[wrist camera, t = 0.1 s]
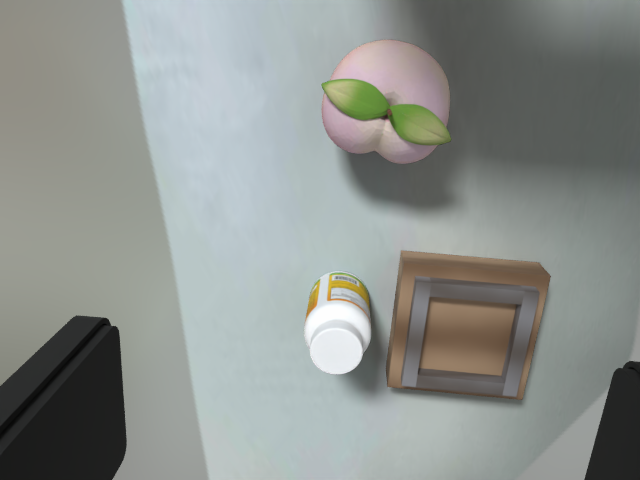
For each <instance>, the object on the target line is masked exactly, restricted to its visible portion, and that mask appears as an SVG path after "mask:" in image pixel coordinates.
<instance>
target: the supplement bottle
mask: <svg viewBox="0 0 640 480" xmlns="http://www.w3.org/2000/svg"><path fill="white" fill-rule="evenodd" d="M304 337H305V341H306V344H307V346H308V348H309V349H310V355H311V359H312V361H313V362H314V364H315V365H316V366H317V367H318V368H319V369H320V370H322V371H324V372H326V373H329V374H336V375H337V374H345V373H348V372H350V371H352V370H353V369H354V368H356V367H357V366H358V364H359V363H360V361H361V359H362V355H363V353H364V352H365V351H366V349H367V347H368V346H369V343H370V340H371V319H370V305H369V295H368V291H367V288H366V286H365V284H364V283H363V282H362V281H361V280H360V279H359V278H358V277H357V276H355V275H353V274H351V273H348V272H344V271H334V272H330V273H327V274H325V275H323V276H322V277H320V278H319V279H318V280H317V281H316V282H315V284H314V285H313V287H312V289H311V292H310V297H309V303H308V309H307V314H306V320H305V325H304Z"/></svg>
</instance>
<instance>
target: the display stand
mask: <svg viewBox="0 0 640 480" xmlns="http://www.w3.org/2000/svg"><path fill="white" fill-rule="evenodd" d="M550 277H551V276H550V275H549V274H548V272H547V271H546V270H545V269H544V268H543V267H542V266H541V264H540V263H537V262H526V261H514V260H503V259H492V258H480V257H469V256H457V255H446V254H435V253H423V252H412V251H401V255H400V263H399V270H398V278H397V286H396V294H395V301H394V309H393V317H392V325H391V332H390V340H389V348H388V355H387V363H386V376H387V386H388V387H393V388H404V389H414V390H425V391H435V392H445V393H456V394H466V395H477V396H487V397H497V398H508V399H518V400H522V399H523V394H524V390H525V386H526V381H527V377H528V373H529V368H530V364H531V360H532V355H533V351H534V347H535V342H536V338H537V333H538V329H539V325H540V320H541V316H542V312H543V307H544V303H545V299H546V294H547V290H548V286H549V281H550Z"/></svg>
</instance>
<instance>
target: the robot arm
mask: <svg viewBox="0 0 640 480" xmlns="http://www.w3.org/2000/svg"><path fill="white" fill-rule="evenodd" d="M121 367H122V366H121V351H120V337H119V330H118V328H117V327H116V326H111V324H110V322H109V320H108V319H107V318H101V317H88V316H75V317H73V318H72V319H71V320H70V321H69V322H68V323H67V324H66V325H65V326H63V327H62V329H60V330H59V331H58V332H57V333H56V334H55V335H54V336H53V337H52V338H51V339H50V340H49V341H48V342H47V343H46V344H44V346H42V347H41V348H40V349H39V350H38V351H37V352H36V353H35V354H34V355H33V356H32V357H31V358H30V359H29V360H28V361H26V362H25V364H23V365H22V366H21V367H20V368H19V369H18V370H17V371H16V372H15V373H14V374H13V375H12V376H11V377H10V378H9V379H7V380H6V381H5V382H4V383H3V384H2V385H1V386H0V480H112V479H113V477H114V476H115V474H116V472H117V470H118V468H119V467H120V465H121V463H122V461H123V459H124V456H125V451H126V426H125V411H124V396H123V381H122V368H121ZM585 480H640V362H634V361H629V362H627V363H626V364H625V365H624V366H623V368H618V369H616V371H615V372H614V374H613V377H612V381H611V384H610V388H609V392H608V396H607V399H606V403H605V406H604V410H603V414H602V418H601V421H600V425H599V428H598V432H597V436H596V439H595V443H594V447H593V450H592V454H591V458H590V462H589V465H588V469H587V473H586V476H585Z"/></svg>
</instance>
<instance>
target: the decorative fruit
mask: <svg viewBox="0 0 640 480" xmlns="http://www.w3.org/2000/svg"><path fill="white" fill-rule="evenodd" d="M322 88H323V90H324V92H325V93H324V96H323V101H322V119H323V124H324V127H325V130H326V132H327V134H328V136H329V137H330V139H331V140H332V141H333V142H334V143H335V144H336V145H337V146H339V147H340V148H342V149H344V150H346V151H348V152H351V153H359V154H362V153H368V152H372V151H376V152H378V153H379V154H380V155H381V156H383V157H384V158H385V159H387V160H389V161H391V162H393V163H399V164H407V163H413V162H416V161H419V160H422V159H423V158H425V157H426V156H428V155H429V154H430V153H431V152H432V151H433V150H434V149H435V148H436V147H437V145H440V144H444V143H447V142H450V141H451V137H450V134H449V132H448V130H447V128H446V127H447V124H448V119H449V110H450V89H449V84H448V80H447V77H446V75H445V73H444V71H443V69H442V68H441V66H440V65H439V64H438V62H437V61H436V60H435V59H434V58H433V57H432V56H431V55H429V54H428V53H427V52H425V51H424V50H422V49H421V48H419V47H417V46H415V45H413V44H410V43H406V42H402V41H397V40H379V41H374V42H370V43H366V44H364V45H361V46H359V47H357V48H356V49H354V50H353V51H351V52H350V53H349V54H347V55H346V56H345V57H344V58H343V59H342V61H341V62H340V63H339V64H338V66H337V67H336V69H335V71H334V73H333V75H332V76H331V79H330V81H328V82H325V83H322Z"/></svg>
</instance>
